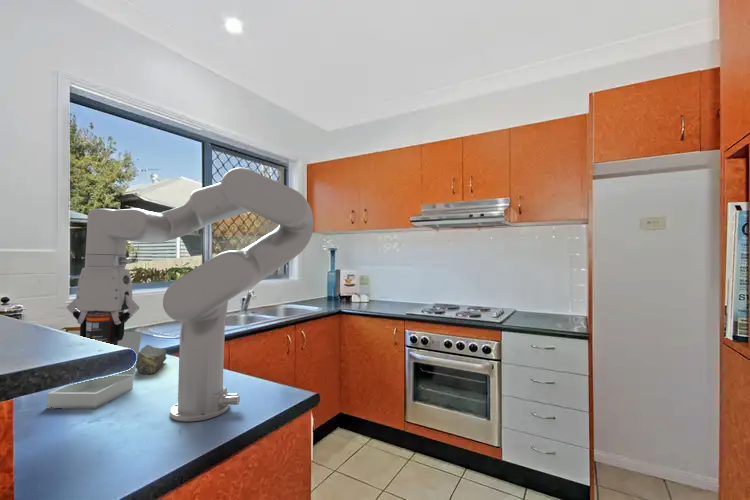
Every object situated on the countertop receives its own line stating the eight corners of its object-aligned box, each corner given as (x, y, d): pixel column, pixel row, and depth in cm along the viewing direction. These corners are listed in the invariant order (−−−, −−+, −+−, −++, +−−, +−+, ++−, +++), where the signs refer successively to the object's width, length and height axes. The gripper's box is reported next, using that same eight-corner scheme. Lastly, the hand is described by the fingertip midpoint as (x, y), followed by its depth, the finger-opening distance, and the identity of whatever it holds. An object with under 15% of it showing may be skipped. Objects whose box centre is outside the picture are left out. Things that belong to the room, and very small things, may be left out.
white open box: (140, 383, 101) (142, 331, 102) (95, 408, 84) (97, 346, 85) (99, 383, 101) (101, 331, 101) (46, 408, 84) (48, 345, 85)
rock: (174, 357, 112) (137, 353, 106) (167, 379, 111) (129, 376, 105) (168, 344, 126) (135, 340, 120) (162, 364, 125) (128, 360, 119)
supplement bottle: (115, 346, 87) (118, 300, 87) (119, 352, 82) (121, 302, 83) (84, 350, 83) (86, 301, 83) (85, 356, 78) (88, 304, 79)
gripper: (153, 263, 87) (149, 337, 87) (79, 261, 86) (75, 336, 86) (134, 263, 80) (130, 345, 79) (53, 261, 79) (48, 343, 78)
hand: (101, 339), depth 83 cm, fingers closed on supplement bottle, 6 cm apart
